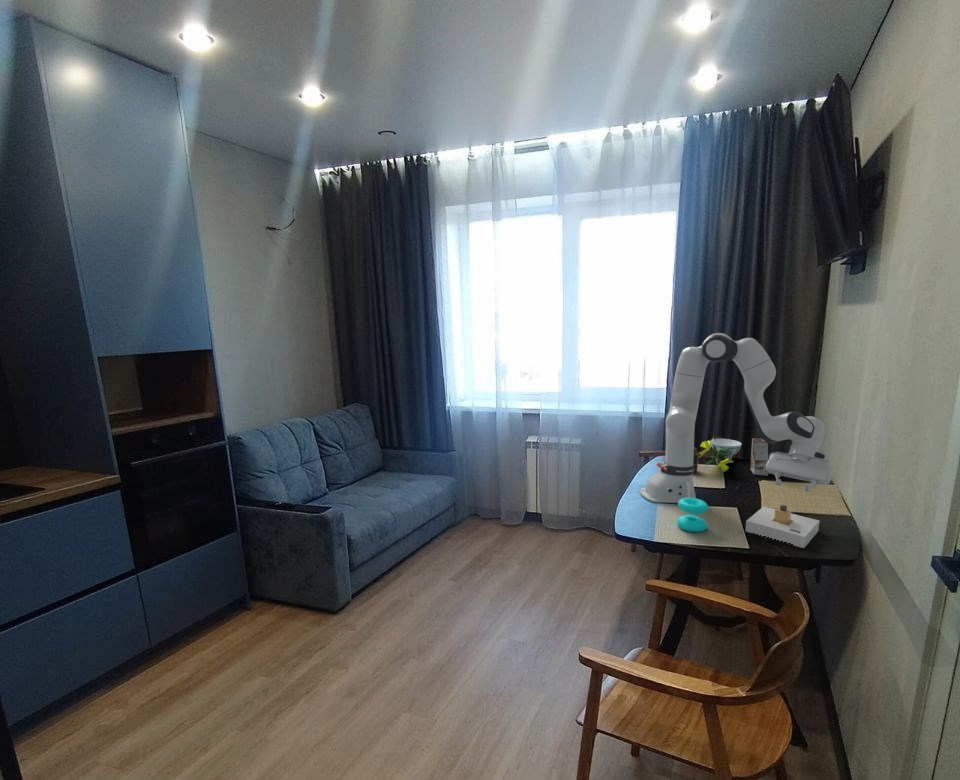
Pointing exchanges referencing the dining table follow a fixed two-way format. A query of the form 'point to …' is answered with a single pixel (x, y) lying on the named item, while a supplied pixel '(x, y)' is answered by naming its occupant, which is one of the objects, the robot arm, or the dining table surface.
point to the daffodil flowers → (721, 453)
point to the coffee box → (759, 456)
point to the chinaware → (726, 445)
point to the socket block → (783, 527)
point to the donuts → (692, 521)
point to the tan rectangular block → (783, 515)
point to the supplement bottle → (695, 460)
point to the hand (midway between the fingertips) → (792, 487)
